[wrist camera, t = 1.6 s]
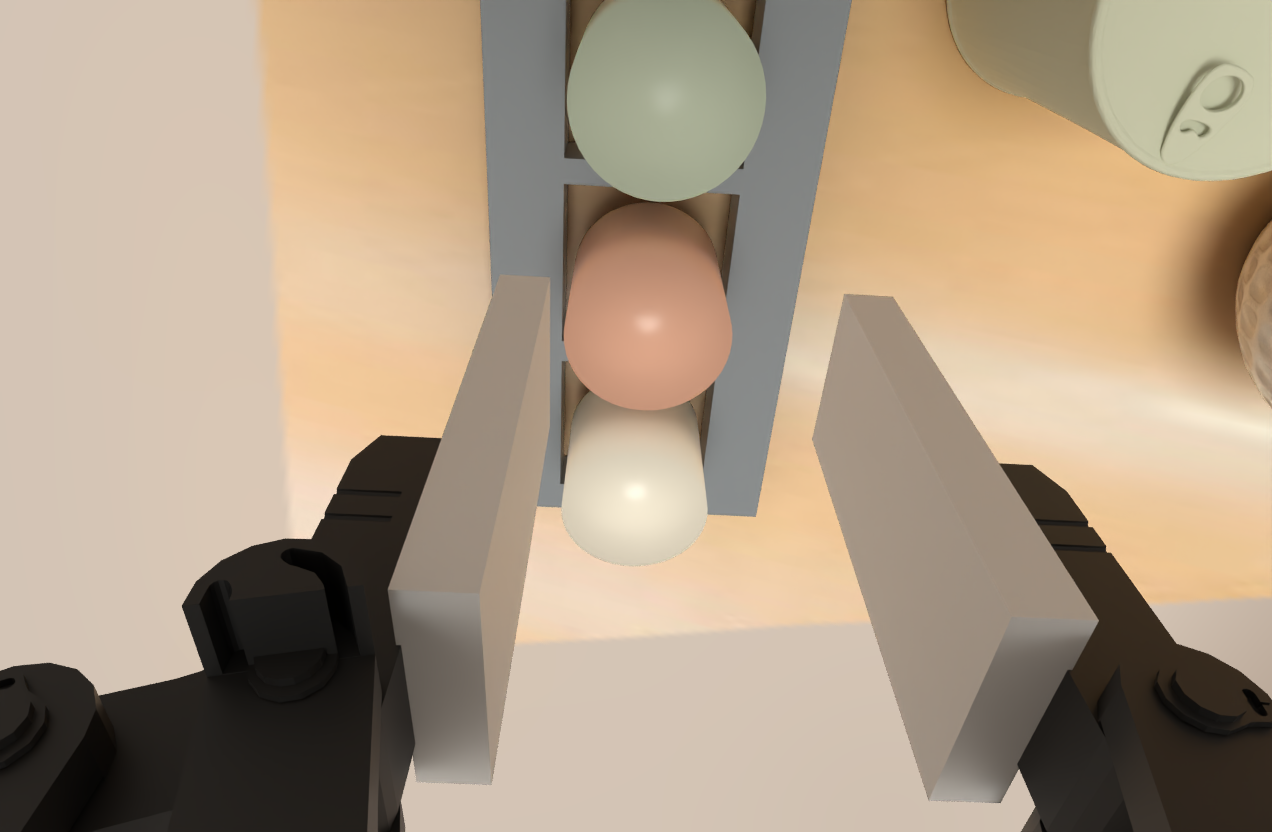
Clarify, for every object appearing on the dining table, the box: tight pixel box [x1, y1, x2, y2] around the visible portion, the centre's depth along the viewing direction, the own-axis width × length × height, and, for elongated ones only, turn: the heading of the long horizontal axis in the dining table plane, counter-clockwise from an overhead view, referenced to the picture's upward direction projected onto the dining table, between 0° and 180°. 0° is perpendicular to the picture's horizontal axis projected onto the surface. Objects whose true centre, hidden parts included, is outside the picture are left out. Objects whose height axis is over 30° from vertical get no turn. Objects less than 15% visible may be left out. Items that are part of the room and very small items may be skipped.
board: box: [480, 0, 852, 517], centre depth 35 cm, size 26×13×2 cm, turn 177°
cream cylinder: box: [561, 391, 708, 566], centre depth 35 cm, size 6×6×6 cm
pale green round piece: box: [567, 0, 766, 202], centre depth 27 cm, size 6×6×6 cm
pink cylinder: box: [564, 203, 732, 410], centre depth 31 cm, size 6×6×6 cm
